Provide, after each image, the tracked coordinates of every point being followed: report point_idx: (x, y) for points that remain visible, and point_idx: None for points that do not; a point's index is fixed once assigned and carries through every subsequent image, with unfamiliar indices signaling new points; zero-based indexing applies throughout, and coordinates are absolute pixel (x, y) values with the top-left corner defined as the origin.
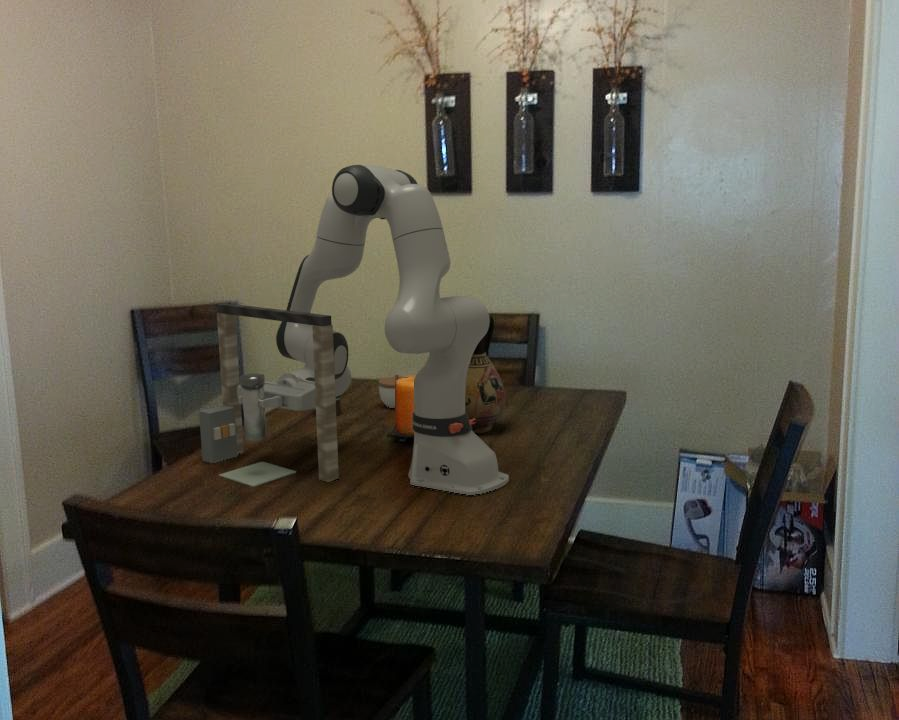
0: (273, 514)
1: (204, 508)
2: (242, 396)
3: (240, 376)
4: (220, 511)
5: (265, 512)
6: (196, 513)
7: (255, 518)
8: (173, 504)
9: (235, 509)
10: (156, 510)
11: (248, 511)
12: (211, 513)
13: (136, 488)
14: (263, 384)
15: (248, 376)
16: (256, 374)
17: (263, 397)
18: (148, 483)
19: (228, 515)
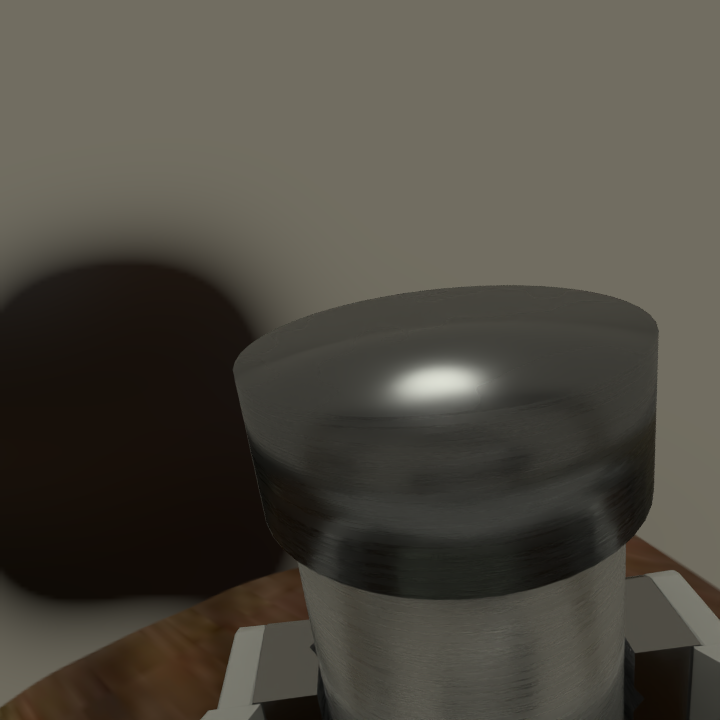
0: (31, 714)
1: (304, 608)
2: (641, 583)
3: (542, 287)
4: (237, 624)
5: (72, 707)
6: (294, 579)
7: (86, 657)
8: None
9: (199, 660)
10: None
11: (142, 676)
12: (252, 602)
13: (667, 563)
14: (266, 510)
15: (457, 314)
16: (503, 368)
17: (331, 694)
18: (712, 604)
19: (190, 622)
